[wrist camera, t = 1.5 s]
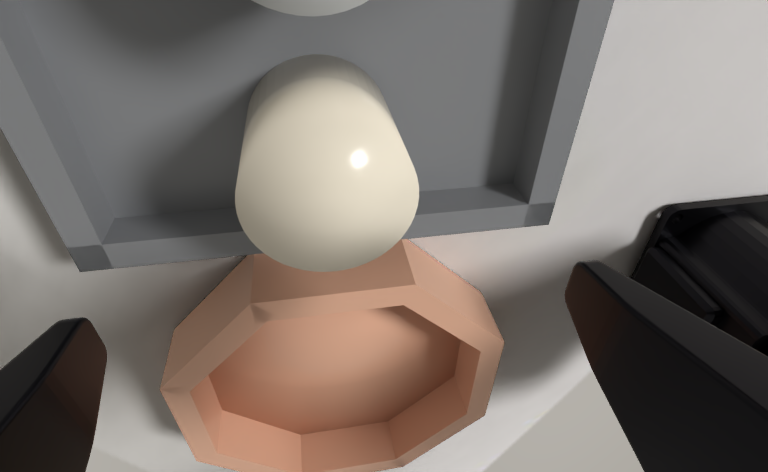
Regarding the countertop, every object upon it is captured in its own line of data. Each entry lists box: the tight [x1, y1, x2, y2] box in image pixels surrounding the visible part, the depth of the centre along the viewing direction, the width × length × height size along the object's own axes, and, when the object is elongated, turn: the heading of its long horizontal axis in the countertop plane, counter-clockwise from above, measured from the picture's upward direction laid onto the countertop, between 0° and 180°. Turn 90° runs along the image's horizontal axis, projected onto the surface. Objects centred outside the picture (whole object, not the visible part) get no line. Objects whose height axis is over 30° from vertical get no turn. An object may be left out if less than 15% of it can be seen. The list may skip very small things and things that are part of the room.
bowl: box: [160, 239, 505, 472], centre depth 22 cm, size 14×14×3 cm
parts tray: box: [0, 0, 614, 272], centre depth 12 cm, size 16×14×2 cm
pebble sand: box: [235, 54, 419, 272], centre depth 13 cm, size 4×4×4 cm
